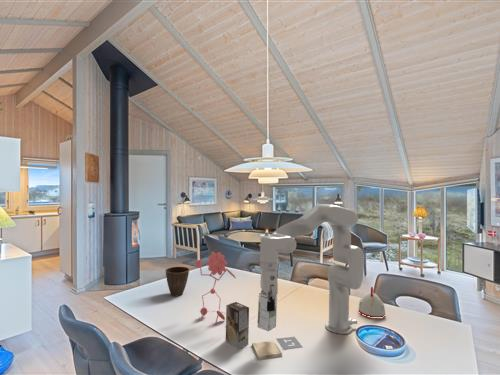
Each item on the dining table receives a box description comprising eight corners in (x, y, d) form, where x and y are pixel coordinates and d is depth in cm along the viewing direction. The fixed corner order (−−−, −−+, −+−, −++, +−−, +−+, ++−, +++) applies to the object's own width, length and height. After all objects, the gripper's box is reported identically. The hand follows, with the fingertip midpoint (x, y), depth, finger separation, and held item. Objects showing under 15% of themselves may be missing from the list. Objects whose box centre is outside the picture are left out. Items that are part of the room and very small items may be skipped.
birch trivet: (273, 343, 124) (273, 340, 124) (281, 356, 114) (282, 352, 114) (252, 345, 121) (252, 342, 121) (258, 359, 111) (258, 355, 111)
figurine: (229, 329, 135) (231, 256, 137) (186, 318, 147) (189, 251, 148) (243, 317, 149) (245, 252, 151) (203, 308, 160) (206, 247, 162)
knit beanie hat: (357, 315, 155) (357, 288, 156) (359, 307, 168) (359, 282, 168) (385, 321, 149) (385, 293, 150) (385, 312, 162) (385, 286, 162)
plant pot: (183, 299, 172) (183, 273, 173) (160, 297, 174) (161, 271, 175) (191, 291, 187) (192, 267, 187) (170, 289, 189) (171, 266, 190)
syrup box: (265, 323, 122) (266, 289, 122) (276, 327, 118) (277, 292, 119) (257, 327, 117) (258, 292, 118) (268, 332, 114) (269, 296, 114)
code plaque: (294, 336, 130) (294, 336, 130) (302, 347, 121) (302, 346, 121) (276, 338, 128) (276, 338, 128) (283, 349, 119) (283, 349, 119)
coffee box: (249, 344, 122) (250, 307, 123) (238, 349, 118) (239, 311, 118) (235, 336, 129) (236, 301, 129) (224, 341, 124) (225, 304, 125)
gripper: (284, 270, 111) (283, 314, 110) (270, 260, 128) (269, 298, 127) (266, 271, 109) (265, 316, 109) (254, 260, 126) (253, 300, 125)
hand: (267, 306), depth 118 cm, fingers closed on syrup box, 7 cm apart
